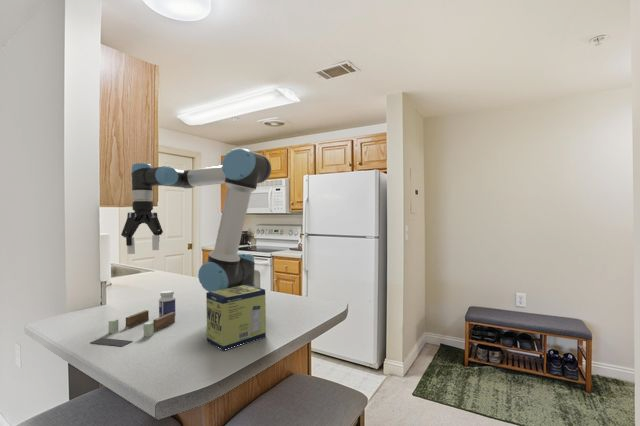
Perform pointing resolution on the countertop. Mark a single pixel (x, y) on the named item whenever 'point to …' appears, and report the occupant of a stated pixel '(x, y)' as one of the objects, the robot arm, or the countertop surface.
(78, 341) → the countertop surface
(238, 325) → the protein box
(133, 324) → the lane
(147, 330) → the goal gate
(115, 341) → the mat
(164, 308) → the pill bottle
